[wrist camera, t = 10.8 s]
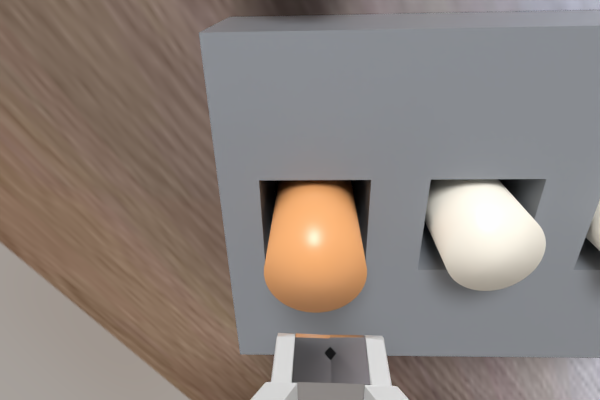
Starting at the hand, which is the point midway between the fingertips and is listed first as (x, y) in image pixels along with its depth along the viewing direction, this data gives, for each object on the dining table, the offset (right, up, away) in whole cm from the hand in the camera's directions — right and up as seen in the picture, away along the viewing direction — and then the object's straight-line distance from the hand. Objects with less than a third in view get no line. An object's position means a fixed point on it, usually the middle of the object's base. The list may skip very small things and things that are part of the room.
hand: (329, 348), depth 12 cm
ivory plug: (+7, +6, +10) cm, 14 cm away
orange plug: (0, +5, +9) cm, 11 cm away
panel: (+7, +6, +11) cm, 14 cm away
